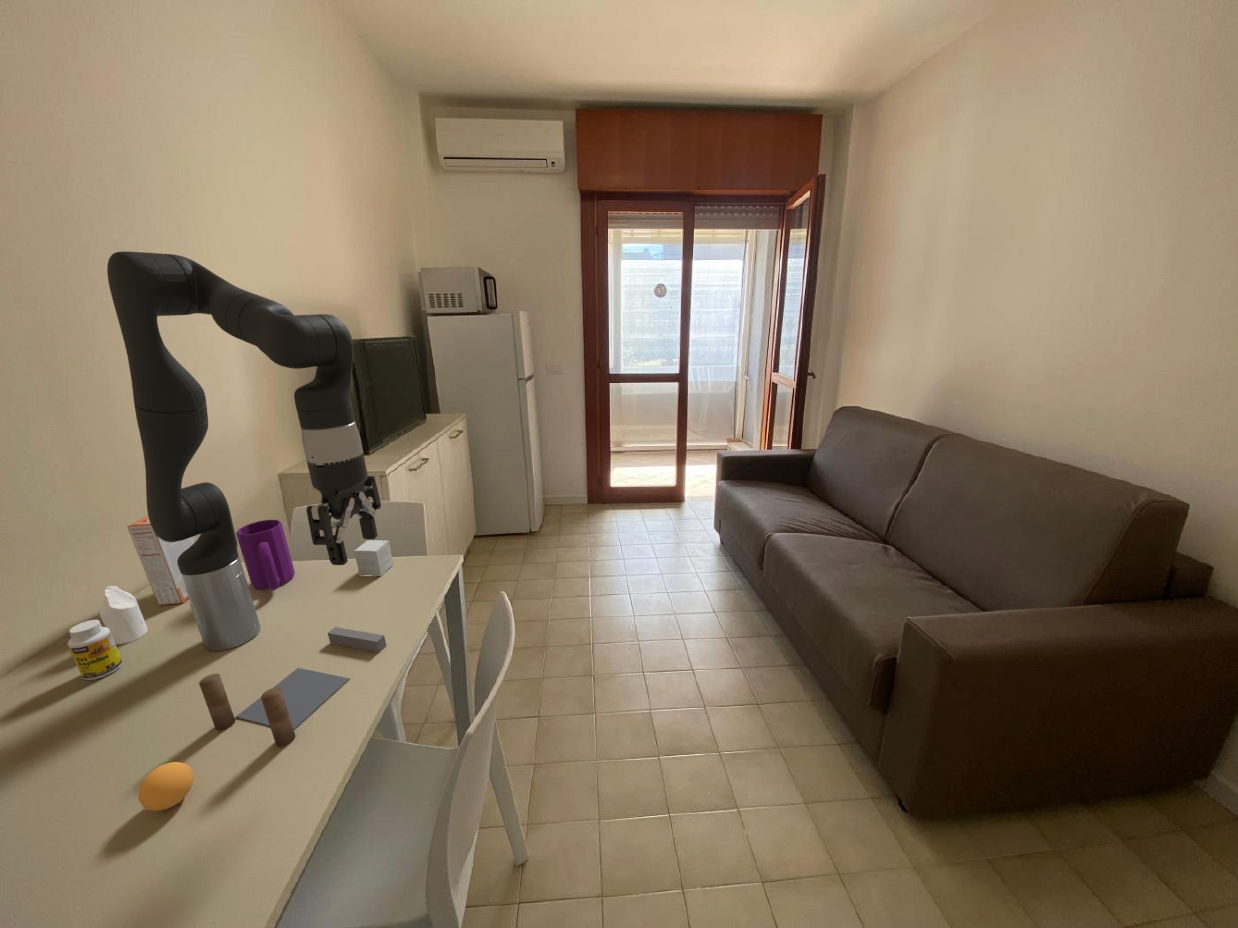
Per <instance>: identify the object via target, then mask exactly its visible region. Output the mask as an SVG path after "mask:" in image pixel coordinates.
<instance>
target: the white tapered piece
mask: <svg viewBox="0 0 1238 928" xmlns="http://www.w3.org/2000/svg"><path fill="white" fill-rule="evenodd" d="M103 597H104V598H103V602H102V605H101V608H100V610H99V615H100V619H101V620H102V623H103V625H104V627H106V628H108V629H109V630H110V632H111V634H112V636H113V639H114V642H115V644H116V645H124V644H129V643H132V642H134V641H136V640H138V639H141V637H143V636H144V635H146V634H147V632H148V626H147V624H146V622H145V619H144V616H143V614H142V611H141V608H140V606H139V603H138V601H137V598H135V596H134V595H132V593H130V592H128V591H125V590H122V589H121V588H119V587H118V586H116V585H109V586H106V587H105V589H104V595H103Z"/></svg>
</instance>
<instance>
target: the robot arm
mask: <svg viewBox="0 0 1238 928" xmlns="http://www.w3.org/2000/svg"><path fill="white" fill-rule="evenodd" d="M106 272H107V281H108V286H109V291H110V294H111V295H110V296H111V298H112V302H113V307H114V309H115V313H116V317H117V322H118V324H119V328H120V330H121V331H120V332H121V336H122V339H123V343H124V346H125V350H126V357H127V360H128V361H127V362H128V367H129V373H130V379H131V380H130V381H131V388H132V396H133V397H132V398H133V405H134V411H135V418H136V422H137V427H138V431H139V437H140V439H141V440H140V441H141V447H142V454H143V460H144V468H145V469H144V470H145V489H146V490H145V493H146V494H145V495H146V496H145V497H146V509H147V516H148V517H149V521H150V524H151V526H152V529H153V530H154V532H155V533H156V535H157V536H158V537H159V538H160V539H162V540H163V541H166V542H177V541H181V540H185V539H188V538H190V537H193V536H196V535H199V534H200V536H199V538H198V539H197V540H196V542H195V543H194V544H193V545H192V546H190V547H189V548H188V549H187V550H185V551H184V552H183V553H182V554H181V555H180V556H179V558H178V560H177V564H178V567H179V570H180V572H181V575H182V578H183V581H184V584H185V587H186V589H187V592H188V595H189V600H190V603H189V605H190V608H191V611H192V614H193V617H194V619H195V623H196V625H197V628H198V631H199V635H200V638H201V640H202V642H203V643H204V644H205V647H206V649H207V650H209V651H216V652H218V651H225V650H226V651H227V650H230V649H233V648H236V647H239V646H242V645H243V644H246V643H247V642H249V641H251V640H252V639H253V638H254V637H256V636H257V635H258V634H259V633H260V631H261V624H260V622H259V618H258V615H257V611H256V607H255V605H254V604H255V603H254V600H253V597H252V594H251V591H250V587H249V585H248V580H247V578H246V574H245V571H244V568H243V566H242V562H241V559H240V555H239V552H238V538H237V535H236V532H235V528H234V523H233V519H232V514H231V509H230V505H229V503H228V501H227V498H226V496H225V494H224V492H223V491H222V490H221V489H220V488H219V486H217V485H216V484H214V483H212V482H208V481H207V482H205V481H204V482H200V483H199V482H198V483H196V484H193V485H189V486H185V487H182V485H183V484H182V483H183V478H184V475H185V472H186V469H187V468H188V466H189V464H190V462H191V461H192V460H193V458H194V456H195V454H196V453H197V451H198V450H199V448H200V447H201V445H202V444H203V441H204V439H205V438H206V435H207V432H208V429H209V417H208V415H209V414H208V406H207V405H208V404H207V399H206V393H205V391H204V388H203V387H202V386H201V384H200V383H199V382H198V381H197V379H196V378H195V377H194V376H193V375H192V374H191V373H190V372H189V371H188V370H187V369H186V368H185V367H184V366H183V365H182V364H181V363H180V362H179V361H178V360H177V359H176V358H175V357H174V356H173V355H172V353H171V352H170V351H169V349H168V348H167V346H166V345H165V343H164V341H163V338H162V335H161V333H160V332H161V331H160V329H159V324H158V317H166V316H167V317H171V316H174V317H175V316H189V315H193V314H194V315H195V314H202V315H210V316H211V317H212V319H213V322H215V324H216V325H217V327H219V328H220V329H221V330H222V331H223V332H225V333H226V334H228V335H230V336H232V337H234V338H236V339H237V340H241V341H242V342H245V343H248V344H250V345H252V346H255V347H257V349H259V350H260V351H261V353H263V354H264V355H265V356H266V357H268V358H269V360H270V361H271V362H273V363H274V364H276V365H279V366H280V367H284V368H288V369H296V370H297V369H299V370H300V369H307V368H315V367H316V371H315V374H314V378H313V379H312V381H311V380H310V382H308V383H305V384H304V385H301V386H299V387H298V388H296V389H295V390H294V393H293V399H294V404H295V409H296V412H297V416H298V421H299V425H300V431H301V441H302V446H303V447H302V448H303V452H304V456H305V460H306V464H307V468H308V472H309V476H310V481H311V486H312V487H313V489H315V490H317V491H318V492H319V493H320V495H321V500H320V503H318V504H315V505H308V506H307V507H306V515H307V520H308V526H309V531H310V535H311V536H310V537H311V541H312V545H314V546H325V547H326V550H327V555H328V559H329V562H330V564H332V565H333V566H344V565H345V564H346V563H348V561H349V559H348V555H347V551H346V546H345V544H344V540H343V537H344V532H345V529H348V527H349V524H350V519H352V518H353V517H354V515H356V516H358V517H359V519H358V520H359V525H360V530H361V534H362V538H363V539H364V540H375V539H376V538H378V529H377V525H376V521H375V517H376V515H377V510H380V509H381V507H382V503H381V502H382V501H381V499H380V495H379V489H378V486H377V481H376V478H375V475H369V473H368V469H367V465H366V460H365V453H364V450H363V443H362V439H361V434H360V431H359V429H358V427H357V423H356V419H355V413H354V409H353V404H352V399H351V385H352V373H353V364H354V363H353V362H354V341H353V338H352V335H351V332H350V330H349V329H348V327H347V326H346V324H345V323H344V322H343V320H341V319H340V318H339V317H337V316H334V315H332V314H328V313H327V314H326V313H325V314H323V313H318V314H298V315H297V314H294V313H293V311H291V310H290V309H289V308H288V307H286V306H285V305H284V304H281V303H280V302H277V301H276V300H272V299H269V298H267V297H264V296H262V295H259V294H256V293H253V292H251V291H247V290H244V289H242V288H240V287H238V286H236V285H234V284H233V283H230V282H229V281H228V280H226V279H224V278H223V277H220V276H219V275H217V274H215V273H214V272H212V271H211V270H210V269H208V268H206V267H205V266H203V265H202V264H200V263H198V262H196V261H195V260H192V259H191V258H188V257H186V256H182V255H178V254H172V253H158V252H157V253H156V252H146V251H145V252H142V251H140V252H139V251H123V250H122V251H115V252H113V253H112V254H111V255H110V256H109V258H108V261H107V267H106ZM369 498H372V501H370V499H369ZM332 519H334V520H336V521H332ZM333 529H335V533H334V532H333ZM321 531H322V535H321Z"/></svg>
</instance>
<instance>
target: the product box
mask: <svg viewBox="0 0 1238 928" xmlns="http://www.w3.org/2000/svg"><path fill="white" fill-rule="evenodd" d="M391 551H392V550H391V547H390V541H389V540H380V539H379V540H378V539H377V540H375V539H366V541H365V542H364V543H362V544H361V545H360V546H359V547H357V548H356V549H355V550H354V551H353V553H354V556H355V557H354V558H355V561H356V564H357V565H356V566H357V570H358V571H357V572H358V575H359V576H360V575H372V576H371V577H377V576H381V577H383V576H384V575H385V574H386V573H387V572H388V571H389V570H390V569H391V568H392V567H393V566H394V560H393V556H392V552H391ZM391 566H392V567H391ZM390 567H391V568H390ZM389 568H390V569H389ZM388 569H389V570H388ZM386 571H387V572H386ZM383 574H384V575H383ZM382 575H383V576H382Z"/></svg>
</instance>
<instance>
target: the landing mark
mask: <svg viewBox="0 0 1238 928" xmlns="http://www.w3.org/2000/svg"><path fill="white" fill-rule="evenodd" d="M349 681H351V678H350V677H345V676H339V675H334V674H330V673H325V672H320V671H315V670H311V669H306V668H301V667H297V668H296V669H294V670H293V671H292V672H291V673H289V674H288V675H287V676H285V677H284V678H283V679H281V681H279V682H278V683H277V684H275V685H274V686H273V687H272V688H275V687H279V688H281V690H282V693H283V696H284V700H285V703H286V706H287V710H288V713H289V716H290V720H291V723H292V726H293V729H294V731H295V730H296V729H297V728H298V727H299V726H300V725H302V724H303V722H305V721H306V720H307V719H308V718H309V717H311V715H312V714H314V713H315V712H316V711H317V710H318V709H319V708H320V707H321V706H322V705H324V704H325V702H327V701H328V700H329V699H330V698H331V697H332V696H334V695H335V694H336V692H338V691H339V690H340V689H341V688H342V687H343V686H344V685H345V684H347V682H349ZM236 718H237V719H240V720H244V721H248V722H250V723H251V722H252V723H255V724H259V725H264V726H268V727H270V725H269V722H268V718H267V715H266V712H265V709H264V706H263V703H262V700H261V696H259V698H257V700H255V701H254V702H252V704H250V705H249V706H248V707H246V708H245V709H243V710H242V711H241V712H240V713H238V714H237V715H236V716H235V719H236Z"/></svg>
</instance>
